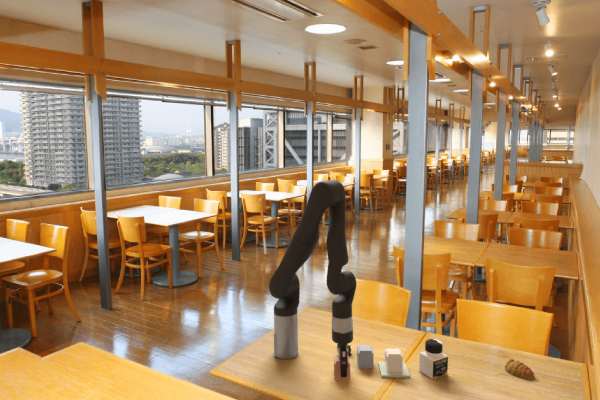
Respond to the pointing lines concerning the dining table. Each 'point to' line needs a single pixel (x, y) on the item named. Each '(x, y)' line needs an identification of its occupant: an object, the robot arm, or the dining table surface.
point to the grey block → (365, 356)
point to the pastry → (519, 369)
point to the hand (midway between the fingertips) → (343, 370)
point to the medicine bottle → (433, 359)
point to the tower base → (393, 374)
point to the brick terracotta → (338, 370)
